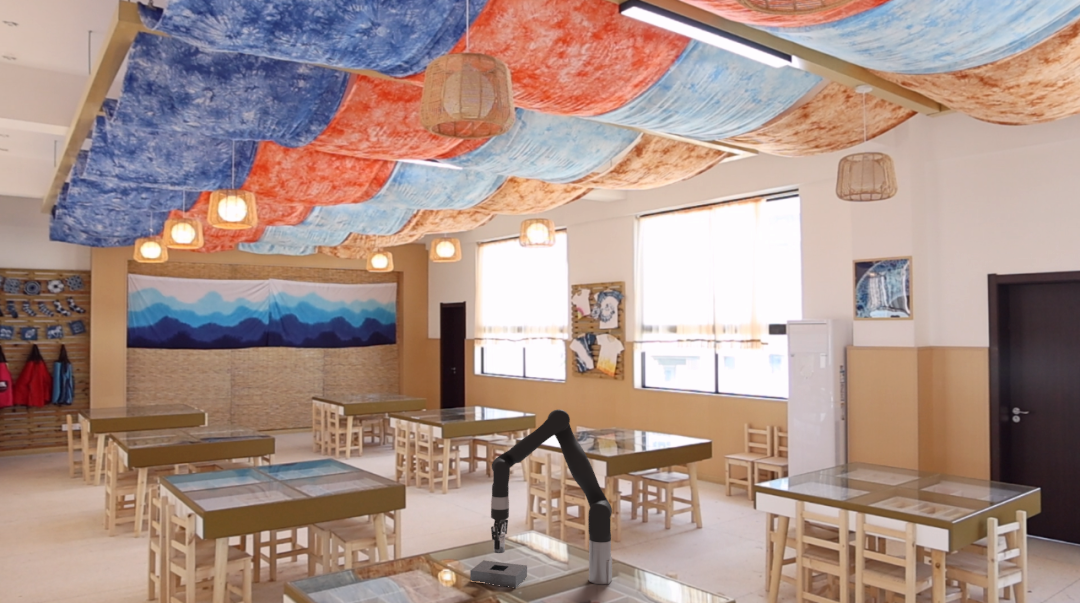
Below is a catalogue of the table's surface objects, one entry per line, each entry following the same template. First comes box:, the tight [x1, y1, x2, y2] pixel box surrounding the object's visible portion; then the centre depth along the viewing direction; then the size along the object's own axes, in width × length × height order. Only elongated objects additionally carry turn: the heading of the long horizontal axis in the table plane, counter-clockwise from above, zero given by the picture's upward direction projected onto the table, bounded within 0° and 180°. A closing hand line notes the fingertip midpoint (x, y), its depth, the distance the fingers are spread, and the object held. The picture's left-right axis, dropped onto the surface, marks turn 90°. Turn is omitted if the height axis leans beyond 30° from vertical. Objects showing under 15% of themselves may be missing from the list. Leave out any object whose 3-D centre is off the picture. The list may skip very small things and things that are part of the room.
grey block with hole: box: [469, 560, 528, 589], centre depth 313 cm, size 20×14×5 cm
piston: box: [493, 531, 506, 554], centre depth 314 cm, size 5×5×8 cm
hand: (499, 547), depth 314 cm, fingers closed on piston, 4 cm apart
